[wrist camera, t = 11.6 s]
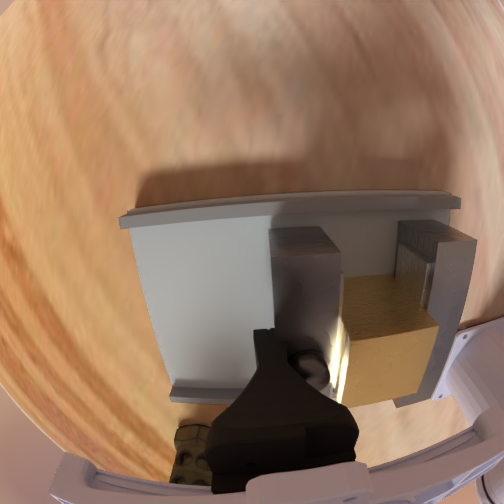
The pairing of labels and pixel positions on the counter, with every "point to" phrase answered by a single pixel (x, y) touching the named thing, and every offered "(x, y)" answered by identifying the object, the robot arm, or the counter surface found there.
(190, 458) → the grenade
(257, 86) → the counter surface
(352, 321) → the block
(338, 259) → the bar
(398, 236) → the fixed jaw
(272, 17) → the counter surface
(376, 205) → the board
